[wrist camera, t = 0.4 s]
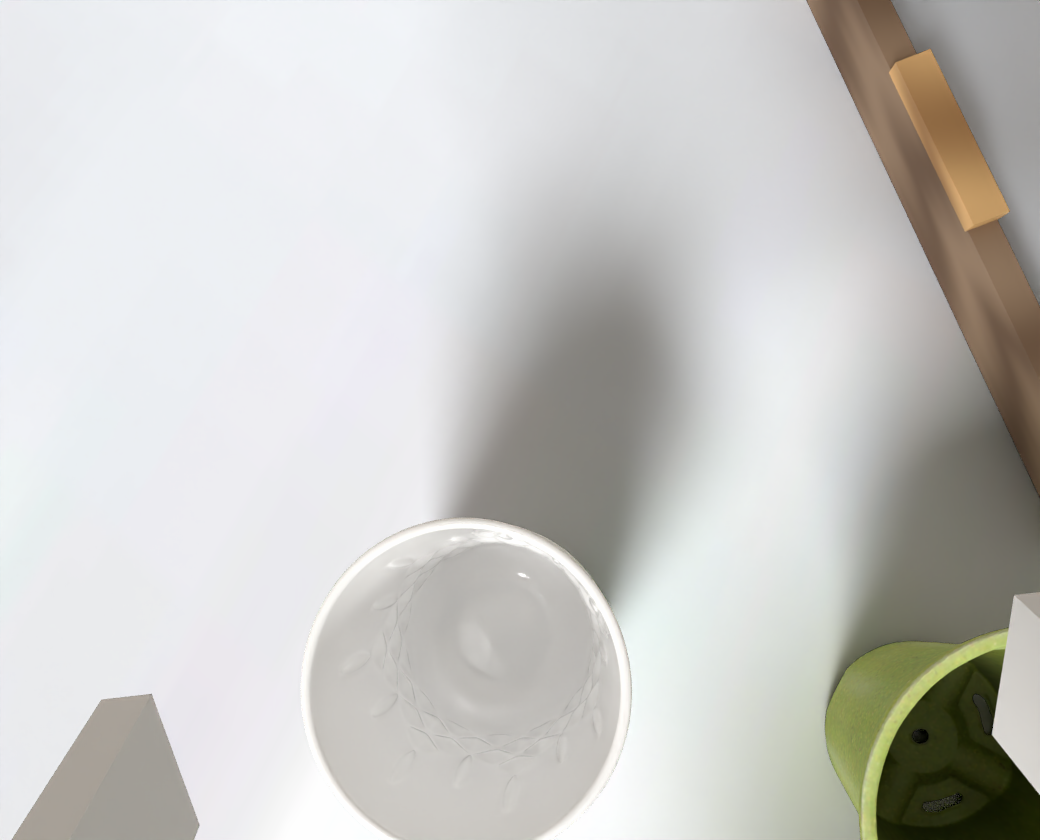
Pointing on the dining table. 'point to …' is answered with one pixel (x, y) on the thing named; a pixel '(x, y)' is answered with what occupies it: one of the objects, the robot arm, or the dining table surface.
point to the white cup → (466, 685)
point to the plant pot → (928, 744)
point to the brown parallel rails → (945, 202)
